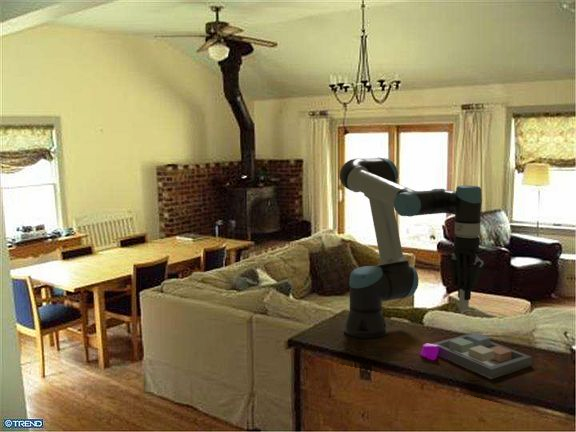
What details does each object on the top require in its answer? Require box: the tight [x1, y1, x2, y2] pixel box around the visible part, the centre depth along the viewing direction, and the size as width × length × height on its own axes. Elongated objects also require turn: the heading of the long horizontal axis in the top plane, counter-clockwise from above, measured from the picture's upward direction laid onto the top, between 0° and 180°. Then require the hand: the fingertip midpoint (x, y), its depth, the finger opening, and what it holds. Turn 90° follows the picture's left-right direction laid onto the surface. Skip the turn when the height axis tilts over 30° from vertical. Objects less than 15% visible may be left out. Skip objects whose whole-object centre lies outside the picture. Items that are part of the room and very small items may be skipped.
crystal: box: [419, 342, 439, 361], centre depth 173 cm, size 5×5×5 cm
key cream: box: [469, 345, 494, 362], centre depth 166 cm, size 5×5×2 cm
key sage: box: [449, 338, 474, 353], centre depth 173 cm, size 5×5×2 cm
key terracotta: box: [489, 346, 512, 362], centre depth 170 cm, size 5×5×2 cm
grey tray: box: [432, 333, 533, 380], centre depth 172 cm, size 24×18×3 cm
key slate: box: [467, 332, 492, 347], centre depth 177 cm, size 5×5×2 cm
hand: (463, 308), depth 171 cm, fingers closed
